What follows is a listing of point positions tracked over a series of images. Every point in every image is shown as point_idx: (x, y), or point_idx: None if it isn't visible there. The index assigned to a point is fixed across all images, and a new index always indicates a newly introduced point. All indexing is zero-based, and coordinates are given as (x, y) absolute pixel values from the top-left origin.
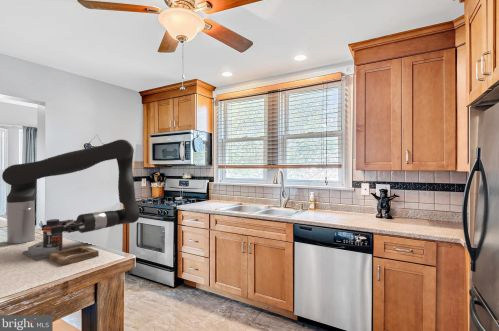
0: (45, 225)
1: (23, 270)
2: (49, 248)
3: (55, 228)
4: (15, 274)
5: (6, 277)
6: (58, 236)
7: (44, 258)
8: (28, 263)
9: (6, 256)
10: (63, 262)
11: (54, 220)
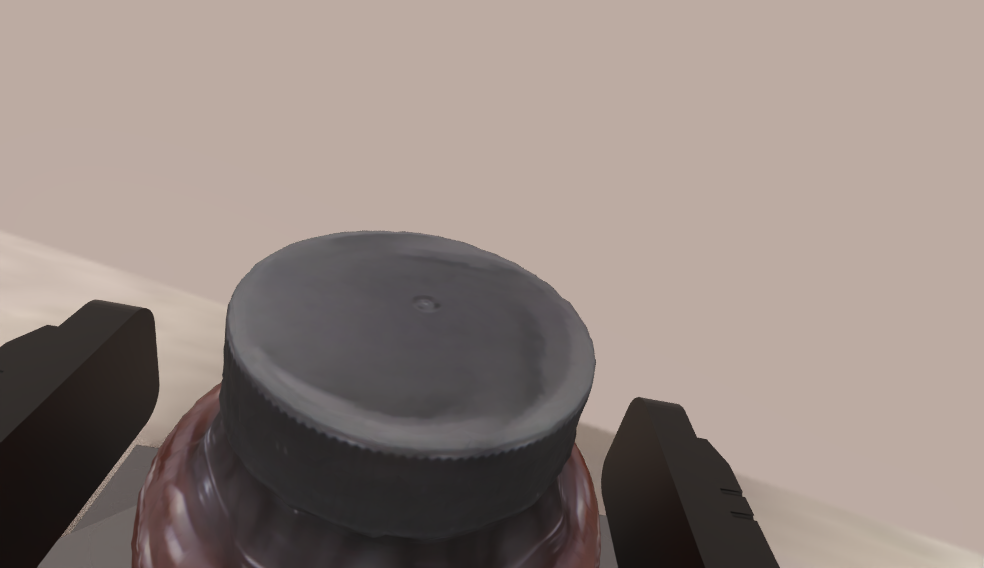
0: (645, 435)
1: (41, 321)
2: (115, 519)
3: (53, 358)
4: (33, 281)
5: (53, 255)
6: None
7: (99, 505)
8: (172, 402)
9: (592, 435)
10: None
11: (271, 271)
